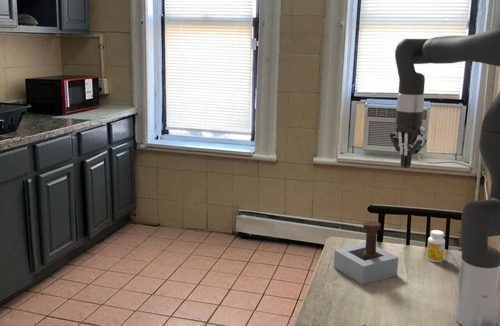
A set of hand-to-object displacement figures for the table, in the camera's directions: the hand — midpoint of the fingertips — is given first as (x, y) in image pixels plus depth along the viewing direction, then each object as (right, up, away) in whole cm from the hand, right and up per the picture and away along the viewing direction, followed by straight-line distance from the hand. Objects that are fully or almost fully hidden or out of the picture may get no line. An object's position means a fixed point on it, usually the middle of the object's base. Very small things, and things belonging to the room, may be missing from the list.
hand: (405, 167), depth 157 cm
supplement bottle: (+16, -31, +20) cm, 41 cm away
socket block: (-10, -33, +11) cm, 36 cm away
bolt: (-9, -32, +9) cm, 35 cm away
